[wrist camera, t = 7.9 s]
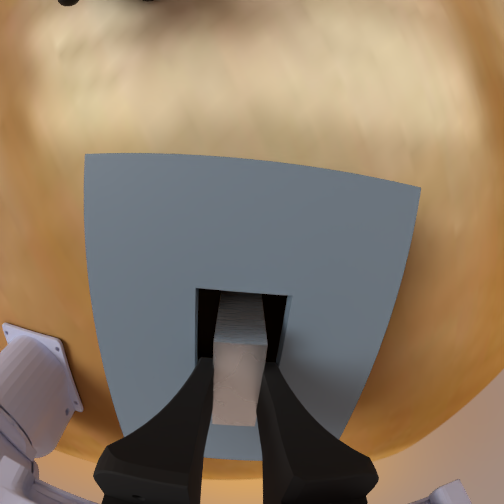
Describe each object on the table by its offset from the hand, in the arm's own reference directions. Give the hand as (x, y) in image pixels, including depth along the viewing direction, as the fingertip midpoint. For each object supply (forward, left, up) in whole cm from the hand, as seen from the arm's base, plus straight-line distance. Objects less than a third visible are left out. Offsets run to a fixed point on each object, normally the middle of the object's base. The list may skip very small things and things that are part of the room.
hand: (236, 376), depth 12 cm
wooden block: (0, 0, -4) cm, 4 cm away
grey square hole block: (0, 0, -8) cm, 8 cm away
